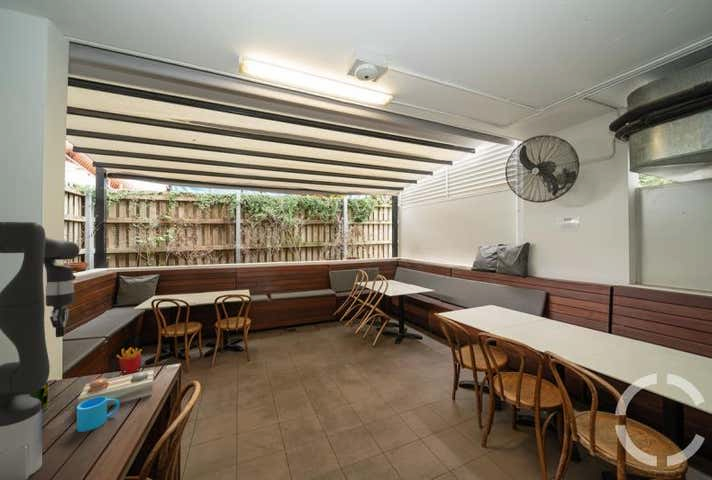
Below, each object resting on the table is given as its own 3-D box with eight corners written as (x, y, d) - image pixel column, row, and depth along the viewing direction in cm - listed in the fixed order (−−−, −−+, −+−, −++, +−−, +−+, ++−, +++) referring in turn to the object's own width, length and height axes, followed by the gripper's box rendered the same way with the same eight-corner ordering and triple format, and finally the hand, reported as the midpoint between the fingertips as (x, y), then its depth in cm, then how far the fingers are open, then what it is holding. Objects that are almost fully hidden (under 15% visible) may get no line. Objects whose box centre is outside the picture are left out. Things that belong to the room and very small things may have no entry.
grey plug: (146, 390, 125) (146, 375, 125) (131, 394, 122) (131, 378, 122) (147, 385, 129) (147, 370, 129) (132, 389, 126) (132, 374, 126)
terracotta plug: (105, 398, 117) (105, 382, 117) (88, 402, 114) (88, 386, 114) (108, 392, 121) (108, 376, 121) (91, 396, 118) (91, 380, 118)
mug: (78, 435, 97) (78, 412, 97) (75, 425, 103) (75, 403, 103) (121, 418, 107) (121, 397, 107) (117, 409, 112) (117, 390, 112)
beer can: (26, 415, 108) (25, 385, 108) (32, 408, 113) (31, 379, 113) (45, 411, 111) (45, 381, 111) (50, 404, 116) (50, 376, 116)
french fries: (129, 372, 143) (129, 344, 143) (145, 372, 143) (145, 344, 143) (114, 381, 134) (114, 351, 134) (131, 381, 134) (131, 351, 134)
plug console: (152, 394, 123) (152, 381, 123) (78, 413, 109) (77, 399, 109) (153, 381, 134) (153, 369, 134) (86, 397, 121) (86, 383, 121)
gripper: (68, 294, 104) (68, 339, 104) (78, 288, 115) (78, 330, 115) (39, 296, 99) (39, 343, 99) (52, 290, 110) (52, 333, 110)
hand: (60, 336), depth 107 cm, fingers closed
